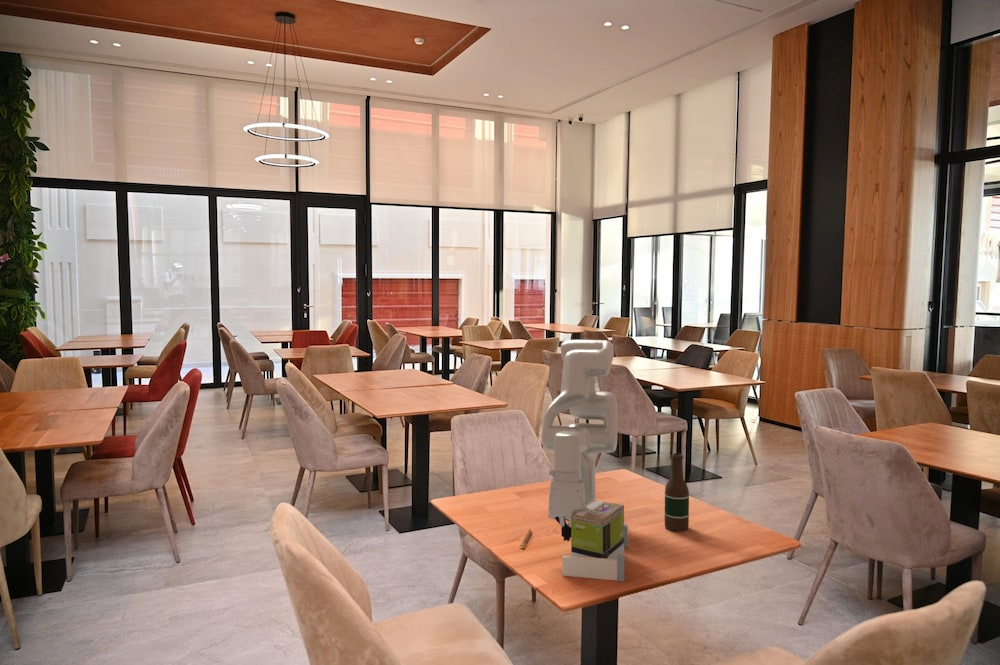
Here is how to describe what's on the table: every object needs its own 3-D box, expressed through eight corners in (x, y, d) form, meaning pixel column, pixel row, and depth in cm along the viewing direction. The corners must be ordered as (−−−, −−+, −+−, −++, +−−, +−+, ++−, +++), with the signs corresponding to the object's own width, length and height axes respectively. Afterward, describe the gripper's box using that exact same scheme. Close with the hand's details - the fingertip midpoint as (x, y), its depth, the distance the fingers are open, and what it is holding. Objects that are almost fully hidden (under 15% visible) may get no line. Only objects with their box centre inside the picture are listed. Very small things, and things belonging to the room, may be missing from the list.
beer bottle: (668, 522, 220) (668, 450, 218) (691, 526, 216) (692, 453, 214) (660, 529, 213) (661, 455, 212) (685, 534, 209) (686, 458, 208)
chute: (573, 541, 203) (573, 520, 203) (627, 545, 200) (627, 524, 199) (562, 575, 179) (562, 552, 178) (624, 581, 175) (624, 557, 175)
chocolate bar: (517, 549, 198) (517, 542, 198) (525, 535, 210) (525, 528, 210) (526, 550, 198) (526, 542, 198) (534, 535, 209) (534, 528, 209)
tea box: (593, 547, 198) (594, 498, 197) (624, 554, 193) (626, 504, 192) (569, 564, 186) (570, 512, 185) (603, 573, 180) (604, 519, 179)
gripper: (538, 477, 188) (538, 541, 188) (592, 480, 184) (592, 546, 185) (543, 470, 195) (543, 532, 196) (595, 473, 191) (594, 537, 192)
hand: (567, 539), depth 190 cm, fingers closed
